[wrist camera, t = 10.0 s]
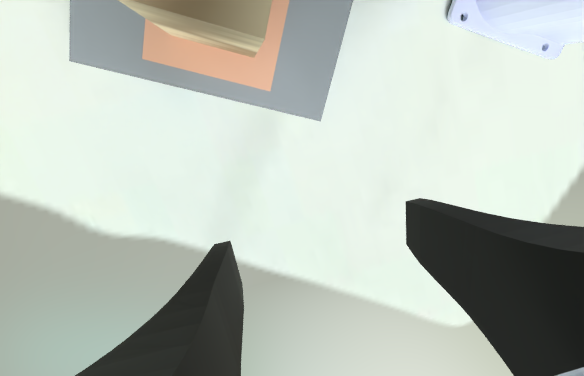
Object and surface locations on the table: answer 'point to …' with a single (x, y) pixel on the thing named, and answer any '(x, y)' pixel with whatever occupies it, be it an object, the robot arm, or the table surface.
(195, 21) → the peg
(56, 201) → the table surface
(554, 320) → the robot arm
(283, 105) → the pocket board
